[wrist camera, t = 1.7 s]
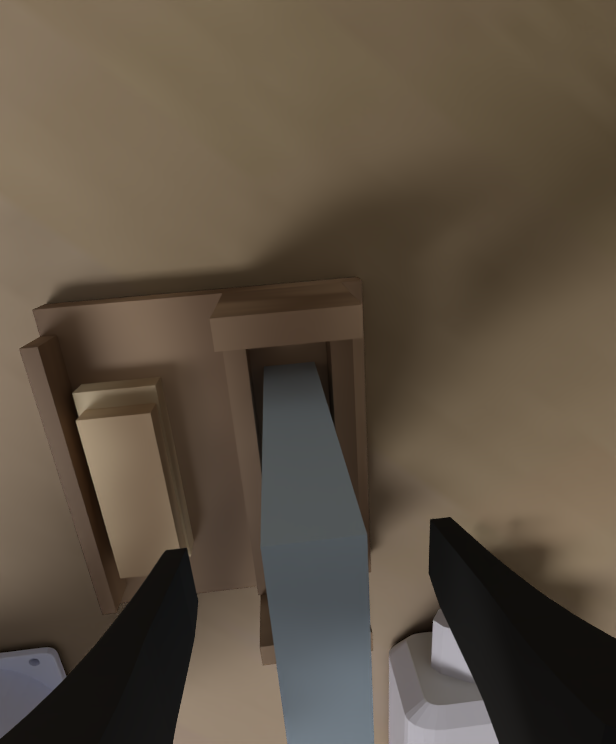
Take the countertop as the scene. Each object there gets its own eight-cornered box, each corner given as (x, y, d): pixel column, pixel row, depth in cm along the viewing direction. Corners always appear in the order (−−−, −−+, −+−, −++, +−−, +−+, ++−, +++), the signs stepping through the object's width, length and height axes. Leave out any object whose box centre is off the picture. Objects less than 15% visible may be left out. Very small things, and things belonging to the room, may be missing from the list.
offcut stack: (126, 549, 20) (113, 581, 18) (81, 384, 17) (61, 403, 16) (193, 541, 20) (187, 572, 19) (160, 376, 17) (149, 394, 16)
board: (282, 531, 20) (295, 805, 11) (263, 366, 18) (260, 547, 8) (326, 526, 21) (375, 792, 11) (314, 361, 18) (367, 534, 8)
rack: (124, 586, 22) (86, 689, 17) (45, 304, 17) (-39, 341, 12) (366, 557, 23) (392, 648, 18) (357, 276, 18) (389, 302, 13)
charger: (558, 533, 24) (527, 723, 29) (385, 553, 23) (385, 742, 28) (625, 609, 19) (574, 817, 24) (413, 635, 19) (407, 842, 24)
